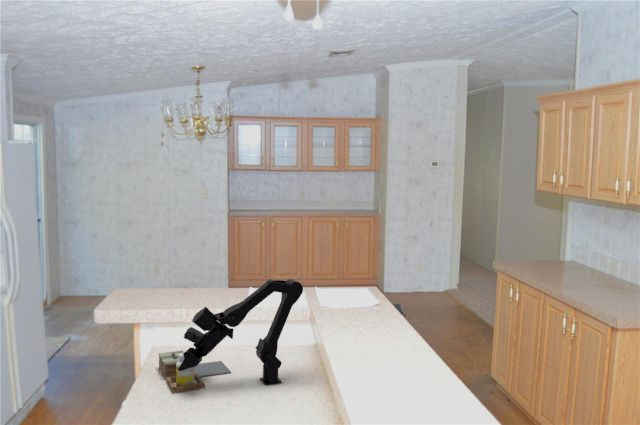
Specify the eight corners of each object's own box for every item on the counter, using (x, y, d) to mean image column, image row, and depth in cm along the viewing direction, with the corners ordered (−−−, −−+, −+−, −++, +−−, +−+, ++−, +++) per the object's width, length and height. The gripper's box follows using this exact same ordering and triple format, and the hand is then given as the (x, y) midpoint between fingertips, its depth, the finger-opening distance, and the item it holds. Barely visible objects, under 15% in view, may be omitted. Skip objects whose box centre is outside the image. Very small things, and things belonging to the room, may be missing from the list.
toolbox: (204, 388, 194) (204, 369, 194) (172, 393, 189) (172, 373, 189) (187, 364, 219) (187, 347, 219) (158, 368, 214) (158, 350, 214)
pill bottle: (185, 381, 202) (185, 350, 201) (198, 384, 198) (198, 353, 198) (172, 386, 196) (172, 355, 195) (185, 390, 193) (185, 358, 192)
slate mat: (231, 373, 211) (231, 371, 211) (195, 378, 205) (195, 376, 205) (221, 362, 223) (221, 360, 223) (186, 366, 217) (186, 365, 217)
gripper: (206, 315, 205) (177, 342, 206) (189, 327, 186) (158, 357, 188) (226, 336, 204) (197, 363, 206) (211, 351, 186) (179, 381, 187)
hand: (183, 366), depth 197 cm, fingers open, 9 cm apart
